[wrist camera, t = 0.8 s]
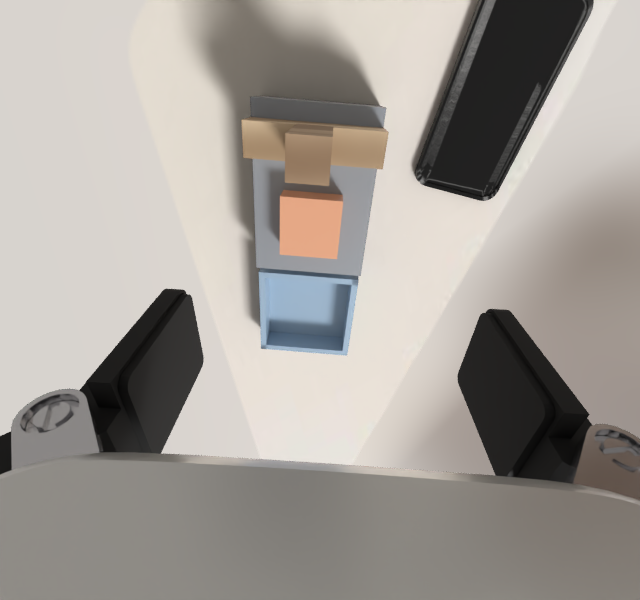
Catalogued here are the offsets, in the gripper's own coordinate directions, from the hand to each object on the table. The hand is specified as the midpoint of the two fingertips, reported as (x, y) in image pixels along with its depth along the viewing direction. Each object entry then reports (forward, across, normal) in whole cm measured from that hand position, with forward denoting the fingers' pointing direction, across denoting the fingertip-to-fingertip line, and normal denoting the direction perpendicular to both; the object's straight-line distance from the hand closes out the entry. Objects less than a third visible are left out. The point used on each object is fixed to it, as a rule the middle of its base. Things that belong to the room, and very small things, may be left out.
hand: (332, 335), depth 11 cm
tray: (+23, +2, +14) cm, 27 cm away
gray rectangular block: (+24, +2, +1) cm, 24 cm away
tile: (+20, +2, +3) cm, 20 cm away
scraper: (+20, +2, -3) cm, 20 cm away
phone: (+24, -12, -6) cm, 28 cm away
